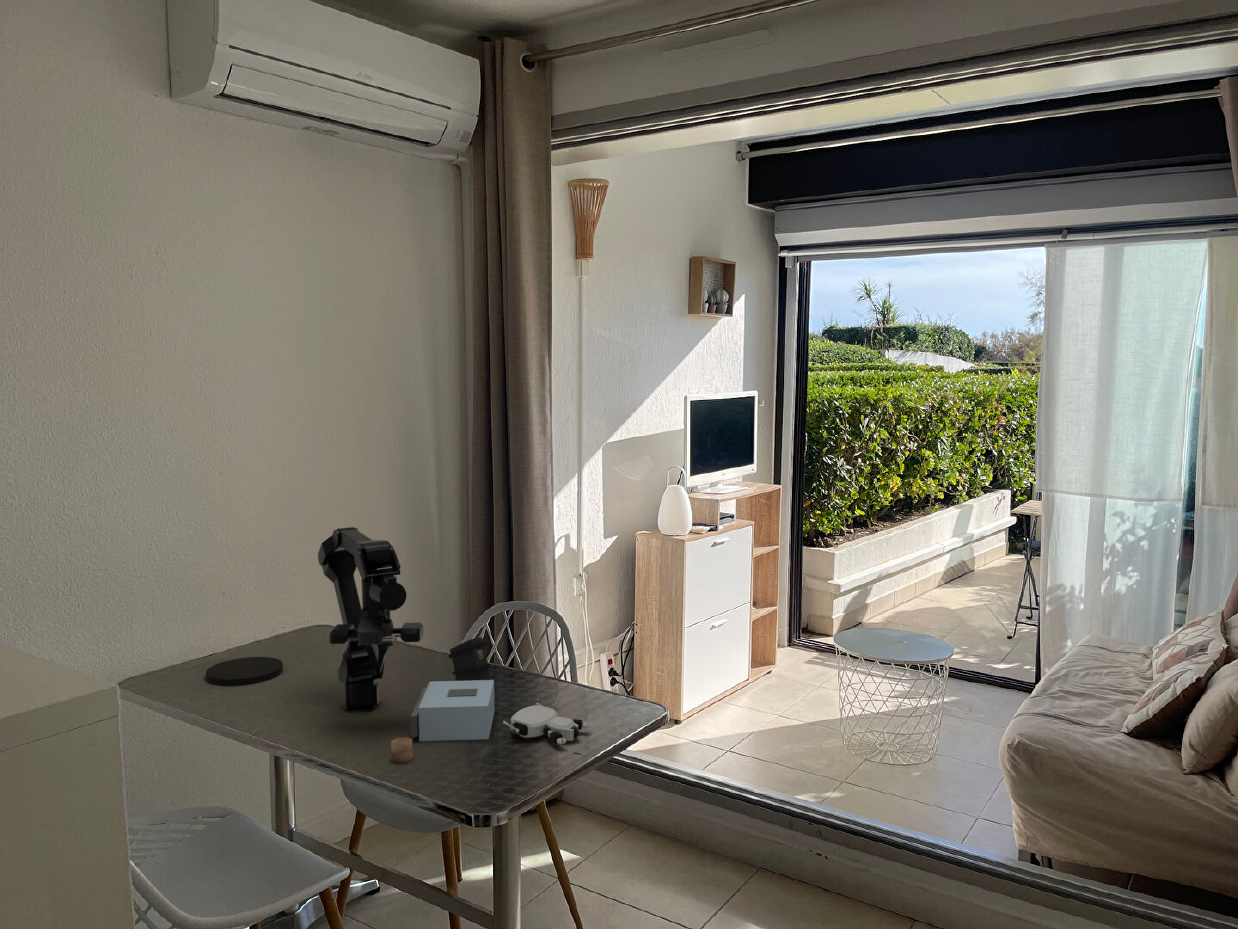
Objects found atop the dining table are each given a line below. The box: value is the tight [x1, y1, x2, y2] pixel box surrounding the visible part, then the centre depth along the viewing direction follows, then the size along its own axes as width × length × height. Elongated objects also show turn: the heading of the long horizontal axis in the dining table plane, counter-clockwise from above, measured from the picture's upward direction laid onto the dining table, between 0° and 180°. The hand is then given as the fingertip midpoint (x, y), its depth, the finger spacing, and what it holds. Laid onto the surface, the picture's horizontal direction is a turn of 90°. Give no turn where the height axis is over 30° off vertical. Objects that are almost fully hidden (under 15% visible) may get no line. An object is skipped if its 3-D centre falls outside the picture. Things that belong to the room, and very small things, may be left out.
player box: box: [418, 679, 496, 742], centre depth 196 cm, size 14×16×7 cm
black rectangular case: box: [448, 636, 492, 681], centre depth 211 cm, size 4×13×15 cm, turn 40°
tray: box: [410, 686, 428, 738], centre depth 196 cm, size 14×17×4 cm
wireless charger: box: [205, 656, 284, 687], centre depth 231 cm, size 18×18×2 cm
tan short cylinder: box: [390, 736, 414, 764], centre depth 179 cm, size 4×4×4 cm
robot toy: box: [502, 702, 591, 745], centre depth 191 cm, size 12×4×15 cm
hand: (378, 672), depth 197 cm, fingers closed
